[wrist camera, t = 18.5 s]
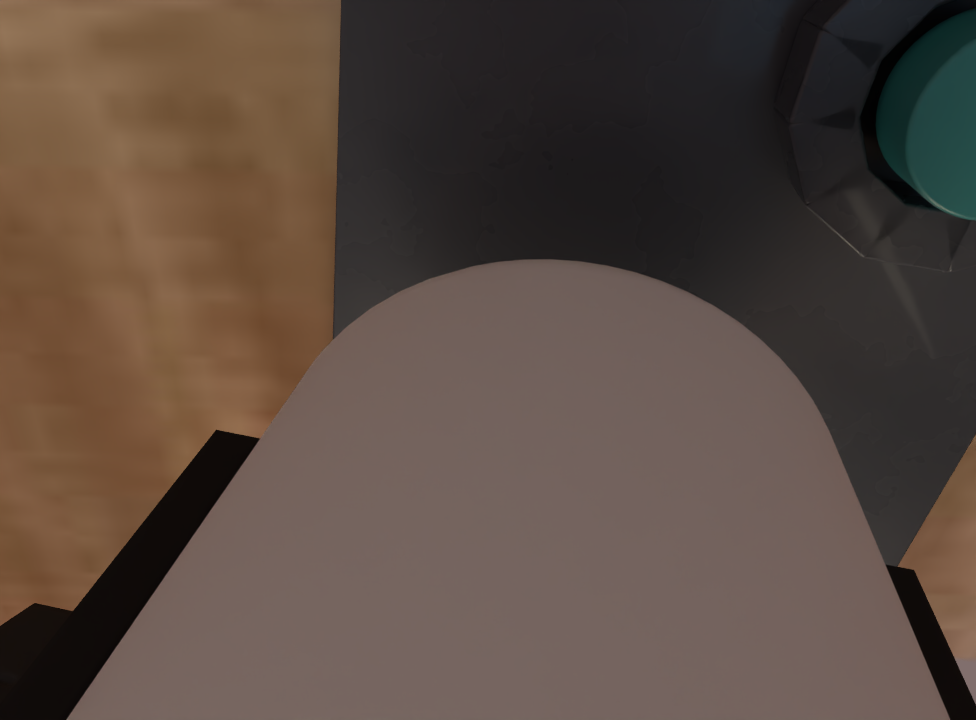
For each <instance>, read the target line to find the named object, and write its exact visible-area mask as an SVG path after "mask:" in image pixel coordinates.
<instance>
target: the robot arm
mask: <svg viewBox="0 0 976 720" xmlns="http://www.w3.org/2000/svg"><path fill="white" fill-rule="evenodd" d="M259 440H260V439H259V438H254V437H249V436H244V435H239V434H234V433H229V432H224V431H219V430H216V431H215V432H214V433H213V435H212V436H211V437H210V438H209V440H208V441H207V442H206V443H205V445H204V446H203V447H202V449H201V450H200V451H199V452H198V454H197V455H196V456H195V457H194V459H193V460H192V461H191V462H190V464H189V465H188V466H187V468H186V469H185V470H184V471H183V473H182V474H181V475H180V476H179V478H178V479H177V480H176V482H175V483H174V484H173V485H172V487H171V488H170V489H169V490H168V492H167V493H166V494H165V495H164V497H163V498H162V499H161V501H160V502H159V503H158V504H157V506H156V507H155V508H154V509H153V511H152V512H151V513H150V514H149V516H148V517H147V518H146V520H145V521H144V522H143V523H142V525H141V526H140V527H139V528H138V530H137V531H136V532H135V533H134V535H133V536H132V537H131V539H130V540H129V541H128V542H127V544H126V545H125V546H124V547H123V549H122V550H121V551H120V552H119V554H118V555H117V556H116V558H115V559H114V560H113V561H112V563H111V564H110V565H109V566H108V568H107V569H106V570H105V571H104V573H103V574H102V575H101V577H100V578H99V579H98V580H97V582H96V583H95V584H94V585H93V587H92V588H91V589H90V590H89V592H88V593H87V594H86V596H85V597H84V598H83V599H82V601H81V602H80V603H79V604H78V606H77V607H76V608H75V609H74V611H69V610H64V609H60V608H55V607H51V606H46V605H42V604H37V603H34V604H32V605H31V606H29V607H28V608H26V609H25V610H23V611H22V612H20V613H19V614H17V615H16V616H14V617H13V618H11V619H10V620H8V621H7V622H5V623H4V624H2V625H1V626H0V720H66V719H67V718H68V717H69V715H70V714H71V712H72V711H73V709H74V708H75V706H76V705H77V704H78V702H79V701H80V699H81V698H82V696H83V695H84V693H85V692H86V690H87V689H88V688H89V686H90V685H91V683H92V682H93V680H94V679H95V677H96V676H97V674H98V673H99V672H100V670H101V669H102V667H103V666H104V664H105V663H106V661H107V660H108V659H109V657H110V656H111V654H112V653H113V651H114V650H115V648H116V647H117V645H118V644H119V643H120V641H121V640H122V638H123V637H124V635H125V634H126V632H127V631H128V629H129V628H130V627H131V625H132V624H133V622H134V621H135V619H136V618H137V616H138V615H139V614H140V612H141V611H142V609H143V608H144V606H145V605H146V603H147V602H148V600H149V599H150V598H151V596H152V595H153V593H154V592H155V590H156V589H157V587H158V586H159V585H160V583H161V582H162V580H163V579H164V577H165V576H166V574H167V573H168V571H169V570H170V569H171V567H172V566H173V564H174V563H175V561H176V560H177V558H178V557H179V555H180V554H181V553H182V551H183V550H184V548H185V547H186V545H187V544H188V542H189V541H190V540H191V538H192V537H193V535H194V534H195V532H196V531H197V529H198V528H199V527H200V525H201V524H202V522H203V521H204V519H205V518H206V516H207V515H208V514H209V512H210V511H211V509H212V508H213V506H214V505H215V503H216V502H217V501H218V499H219V498H220V496H221V495H222V493H223V492H224V490H225V489H226V488H227V486H228V485H229V483H230V482H231V480H232V479H233V477H234V476H235V475H236V473H237V472H238V470H239V469H240V467H241V466H242V464H243V463H244V462H245V460H246V459H247V457H248V456H249V454H250V453H251V451H252V450H253V449H254V447H255V446H256V444H257V443H258V441H259ZM885 565H886V564H885ZM886 568H887V570H888V572H889V575H890V577H891V580H892V582H893V584H894V587H895V589H896V592H897V594H898V596H899V599H900V601H901V603H902V606H903V608H904V611H905V613H906V615H907V618H908V620H909V623H910V625H911V627H912V630H913V632H914V634H915V637H916V639H917V642H918V644H919V646H920V649H921V651H922V654H923V656H924V658H925V661H926V663H927V666H928V668H929V670H930V673H931V675H932V677H933V680H934V682H935V685H936V687H937V689H938V692H939V694H940V697H941V699H942V701H943V704H944V706H945V708H946V711H947V713H948V716H949V718H950V720H976V704H975V702H974V700H973V698H972V696H971V694H970V691H969V689H968V687H967V685H966V683H965V680H964V678H963V676H962V674H961V672H960V670H959V667H958V665H957V663H956V661H955V659H954V656H953V654H952V652H951V650H950V648H949V645H948V643H947V641H946V639H945V637H944V635H943V632H942V630H941V628H940V626H939V624H938V621H937V619H936V617H935V615H934V613H933V611H932V608H931V606H930V604H929V602H928V600H927V597H926V595H925V593H924V591H923V589H922V587H921V584H920V582H919V580H918V578H917V576H916V573H915V571H914V570H911V569H906V568H901V567H896V566H891V565H886Z"/></svg>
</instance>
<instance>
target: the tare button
mask: <svg viewBox="0 0 976 720" xmlns="http://www.w3.org/2000/svg"><path fill="white" fill-rule="evenodd" d="M876 135H877V140H878V144H879V147H880V150H881V152H882V154H883V157H884V158H885V160H886V161H887V163H888V164H889V166H890V167H891V168H892V169H893V170H894V171H895V172H896V173H897V174H898V175H899V176H900V177H901V178H902V179H903V180H904V181H906V182H907V183H908V184H909V185H910V186H911V187H912V188H913V189H915V190H916V191H917V192H918V193H919V194H920V195H921V196H922V197H923V198H925V199H926V200H927V201H928V202H929V203H931V204H932V205H933V206H934V207H936V208H938V209H940V210H941V211H943V212H945V213H947V214H950V215H953V216H955V217H959V218H963V219H967V220H975V221H976V8H974V9H970V10H967V11H964V12H962V13H959V14H957V15H955V16H952V17H950V18H948V19H947V20H945V21H943V22H941V23H939V24H938V25H936V26H935V27H933V28H932V29H930V30H929V31H928V32H926V33H925V34H924V35H923V36H921V37H920V38H919V39H918V40H917V41H916V42H914V43H913V44H912V46H911V47H910V48H909V49H908V50H907V51H906V52H905V53H904V54H903V55H902V57H901V58H900V59H899V61H898V62H897V63H896V65H895V66H894V68H893V69H892V71H891V73H890V74H889V76H888V78H887V80H886V82H885V85H884V87H883V89H882V92H881V95H880V98H879V101H878V106H877V112H876Z"/></svg>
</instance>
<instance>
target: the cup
mask: <svg viewBox="0 0 976 720" xmlns="http://www.w3.org/2000/svg"><path fill="white" fill-rule="evenodd" d="M66 720H950V718H949V716H948V713H947V711H946V708H945V706H944V704H943V701H942V699H941V697H940V694H939V692H938V689H937V687H936V685H935V682H934V680H933V677H932V675H931V673H930V670H929V668H928V666H927V663H926V661H925V658H924V656H923V654H922V651H921V649H920V646H919V644H918V642H917V639H916V637H915V634H914V632H913V630H912V627H911V625H910V623H909V620H908V618H907V615H906V613H905V611H904V608H903V606H902V603H901V601H900V599H899V596H898V594H897V592H896V589H895V587H894V584H893V582H892V580H891V577H890V575H889V572H888V570H887V568H886V565H885V563H884V560H883V558H882V556H881V553H880V551H879V549H878V546H877V544H876V541H875V539H874V537H873V534H872V532H871V529H870V527H869V525H868V522H867V520H866V517H865V515H864V513H863V510H862V508H861V506H860V503H859V501H858V498H857V496H856V494H855V491H854V489H853V486H852V484H851V482H850V479H849V477H848V474H847V472H846V470H845V467H844V465H843V463H842V460H841V458H840V455H839V453H838V451H837V448H836V446H835V443H834V441H833V439H832V436H831V434H830V432H829V430H828V428H827V426H826V424H825V422H824V420H823V418H822V416H821V414H820V412H819V410H818V408H817V407H816V405H815V403H814V401H813V400H812V398H811V397H810V395H809V394H808V392H807V391H806V390H805V388H804V387H803V385H802V384H801V382H800V381H799V380H798V378H797V377H796V376H795V375H794V373H793V372H792V371H791V370H790V369H789V368H788V366H787V365H786V364H785V363H784V362H783V361H782V360H781V358H780V357H779V356H777V355H776V354H775V353H774V352H773V351H772V350H771V349H770V348H769V347H768V346H767V345H766V344H765V343H764V342H763V341H762V340H761V339H760V338H758V337H757V336H756V335H755V334H753V333H752V332H751V331H750V330H748V329H747V328H746V327H745V326H743V325H742V324H741V323H739V322H738V321H737V320H735V319H734V318H732V317H731V316H729V315H727V314H726V313H724V312H723V311H721V310H720V309H718V308H717V307H715V306H713V305H711V304H710V303H708V302H706V301H704V300H702V299H700V298H698V297H696V296H695V295H693V294H691V293H689V292H687V291H684V290H682V289H680V288H677V287H675V286H673V285H670V284H668V283H665V282H663V281H660V280H657V279H654V278H651V277H648V276H645V275H642V274H639V273H636V272H632V271H628V270H624V269H620V268H615V267H611V266H607V265H600V264H594V263H587V262H581V261H568V260H554V259H526V260H513V261H502V262H494V263H488V264H482V265H476V266H472V267H468V268H465V269H461V270H458V271H454V272H451V273H448V274H444V275H441V276H437V277H434V278H430V279H428V280H425V281H423V282H421V283H418V284H416V285H414V286H411V287H409V288H407V289H404V290H402V291H400V292H398V293H396V294H394V295H393V296H391V297H389V298H388V299H386V300H384V301H382V302H381V303H379V304H377V305H376V306H374V307H372V308H371V309H369V310H368V311H367V312H365V313H364V314H363V315H361V316H360V317H359V318H357V319H356V320H355V321H354V322H352V323H351V324H350V325H348V326H347V327H346V328H345V329H344V330H343V331H342V332H341V333H340V334H339V335H338V336H337V337H336V338H335V339H334V340H333V341H332V342H331V343H330V344H329V345H328V346H327V347H326V348H325V349H324V350H323V351H322V352H321V353H320V354H319V356H318V357H317V358H316V359H315V361H314V362H313V363H312V365H311V366H310V368H309V369H308V370H307V372H306V373H305V375H304V376H303V378H302V379H301V381H300V382H299V383H298V385H297V386H296V388H295V389H294V391H293V392H292V394H291V395H290V396H289V398H288V399H287V401H286V402H285V404H284V405H283V407H282V408H281V409H280V411H279V412H278V414H277V415H276V417H275V418H274V420H273V421H272V422H271V424H270V425H269V427H268V428H267V430H266V431H265V433H264V434H263V436H262V437H261V438H260V440H259V441H258V443H257V444H256V446H255V447H254V449H253V450H252V451H251V453H250V454H249V456H248V457H247V459H246V460H245V462H244V463H243V464H242V466H241V467H240V469H239V470H238V472H237V473H236V475H235V476H234V477H233V479H232V480H231V482H230V483H229V485H228V486H227V488H226V489H225V490H224V492H223V493H222V495H221V496H220V498H219V499H218V501H217V502H216V503H215V505H214V506H213V508H212V509H211V511H210V512H209V514H208V515H207V516H206V518H205V519H204V521H203V522H202V524H201V525H200V527H199V528H198V529H197V531H196V532H195V534H194V535H193V537H192V538H191V540H190V541H189V542H188V544H187V545H186V547H185V548H184V550H183V551H182V553H181V554H180V555H179V557H178V558H177V560H176V561H175V563H174V564H173V566H172V567H171V569H170V570H169V571H168V573H167V574H166V576H165V577H164V579H163V580H162V582H161V583H160V585H159V586H158V587H157V589H156V590H155V592H154V593H153V595H152V596H151V598H150V599H149V600H148V602H147V603H146V605H145V606H144V608H143V609H142V611H141V612H140V614H139V615H138V616H137V618H136V619H135V621H134V622H133V624H132V625H131V627H130V628H129V629H128V631H127V632H126V634H125V635H124V637H123V638H122V640H121V641H120V643H119V644H118V645H117V647H116V648H115V650H114V651H113V653H112V654H111V656H110V657H109V659H108V660H107V661H106V663H105V664H104V666H103V667H102V669H101V670H100V672H99V673H98V674H97V676H96V677H95V679H94V680H93V682H92V683H91V685H90V686H89V688H88V689H87V690H86V692H85V693H84V695H83V696H82V698H81V699H80V701H79V702H78V704H77V705H76V706H75V708H74V709H73V711H72V712H71V714H70V715H69V717H68V718H67V719H66Z"/></svg>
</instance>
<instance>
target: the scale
mask: <svg viewBox="0 0 976 720" xmlns="http://www.w3.org/2000/svg"><path fill="white" fill-rule="evenodd" d="M974 8H976V0H341V31H340V72H339V114H338V155H337V196H336V237H335V278H334V319H333V340H334V339H335V338H336V337H337V336H338V335H339V334H340V333H341V332H342V331H343V330H344V329H345V328H346V327H347V326H348V325H350V324H351V323H352V322H354V321H355V320H356V319H357V318H359V317H360V316H361V315H363V314H364V313H365V312H367V311H368V310H369V309H371V308H372V307H374V306H376V305H377V304H379V303H381V302H382V301H384V300H386V299H388V298H389V297H391V296H393V295H394V294H396V293H398V292H400V291H402V290H404V289H407V288H409V287H411V286H414V285H416V284H418V283H421V282H423V281H425V280H428V279H430V278H434V277H437V276H441V275H444V274H448V273H451V272H454V271H458V270H461V269H465V268H468V267H472V266H476V265H482V264H488V263H494V262H502V261H513V260H526V259H554V260H568V261H581V262H587V263H594V264H600V265H607V266H611V267H615V268H620V269H624V270H628V271H632V272H636V273H639V274H642V275H645V276H648V277H651V278H654V279H657V280H660V281H663V282H665V283H668V284H670V285H673V286H675V287H677V288H680V289H682V290H684V291H687V292H689V293H691V294H693V295H695V296H696V297H698V298H700V299H702V300H704V301H706V302H708V303H710V304H711V305H713V306H715V307H717V308H718V309H720V310H721V311H723V312H724V313H726V314H727V315H729V316H731V317H732V318H734V319H735V320H737V321H738V322H739V323H741V324H742V325H743V326H745V327H746V328H747V329H748V330H750V331H751V332H752V333H753V334H755V335H756V336H757V337H758V338H760V339H761V340H762V341H763V342H764V343H765V344H766V345H767V346H768V347H769V348H770V349H771V350H772V351H773V352H774V353H775V354H776V355H777V356H779V357H780V358H781V360H782V361H783V362H784V363H785V364H786V365H787V366H788V368H789V369H790V370H791V371H792V372H793V373H794V375H795V376H796V377H797V378H798V380H799V381H800V382H801V384H802V385H803V387H804V388H805V390H806V391H807V392H808V394H809V395H810V397H811V398H812V400H813V401H814V403H815V405H816V407H817V408H818V410H819V412H820V414H821V416H822V418H823V420H824V422H825V424H826V426H827V428H828V430H829V432H830V434H831V436H832V439H833V441H834V443H835V446H836V448H837V451H838V453H839V455H840V458H841V460H842V463H843V465H844V467H845V470H846V472H847V474H848V477H849V479H850V482H851V484H852V486H853V489H854V491H855V494H856V496H857V498H858V501H859V503H860V506H861V508H862V510H863V513H864V515H865V517H866V520H867V522H868V525H869V527H870V529H871V532H872V534H873V537H874V539H875V541H876V544H877V546H878V549H879V551H880V553H881V556H882V558H883V560H884V563H885V564H886V565H891V566H896V567H897V566H898V564H899V563H900V561H901V559H902V558H903V556H904V554H905V553H906V551H907V549H908V548H909V546H910V544H911V542H912V541H913V539H914V537H915V536H916V534H917V532H918V531H919V529H920V527H921V526H922V524H923V522H924V521H925V519H926V517H927V515H928V514H929V512H930V510H931V509H932V507H933V505H934V504H935V502H936V500H937V499H938V497H939V495H940V494H941V492H942V490H943V489H944V487H945V485H946V483H947V482H948V480H949V478H950V477H951V475H952V473H953V472H954V470H955V468H956V467H957V465H958V463H959V462H960V460H961V458H962V457H963V455H964V453H965V451H966V450H967V448H968V446H969V445H970V443H971V441H972V440H973V438H974V436H975V435H976V221H975V220H967V219H963V218H959V217H955V216H953V215H950V214H947V213H945V212H943V211H941V210H940V209H938V208H936V207H934V206H933V205H932V204H931V203H929V202H928V201H927V200H926V199H925V198H923V197H922V196H921V195H920V194H919V193H918V192H917V191H916V190H915V189H913V188H912V187H911V186H910V185H909V184H908V183H907V182H906V181H904V180H903V179H902V178H901V177H900V176H899V175H898V174H897V173H896V172H895V171H894V170H893V169H892V168H891V167H890V166H889V164H888V163H887V161H886V160H885V158H884V157H883V154H882V152H881V150H880V147H879V144H878V140H877V135H876V112H877V106H878V101H879V98H880V95H881V92H882V89H883V87H884V85H885V82H886V80H887V78H888V76H889V74H890V73H891V71H892V69H893V68H894V66H895V65H896V63H897V62H898V61H899V59H900V58H901V57H902V55H903V54H904V53H905V52H906V51H907V50H908V49H909V48H910V47H911V46H912V44H913V43H914V42H916V41H917V40H918V39H919V38H920V37H921V36H923V35H924V34H925V33H926V32H928V31H929V30H930V29H932V28H933V27H935V26H936V25H938V24H939V23H941V22H943V21H945V20H947V19H948V18H950V17H952V16H955V15H957V14H959V13H962V12H964V11H967V10H970V9H974Z"/></svg>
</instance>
